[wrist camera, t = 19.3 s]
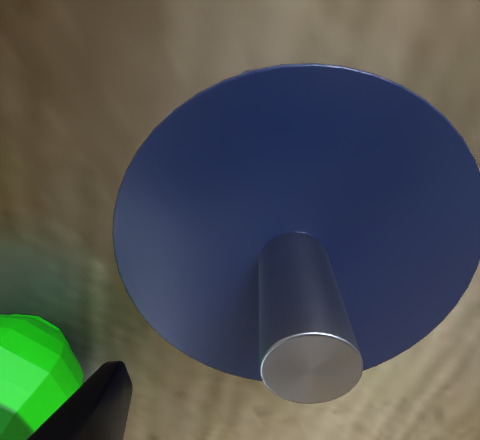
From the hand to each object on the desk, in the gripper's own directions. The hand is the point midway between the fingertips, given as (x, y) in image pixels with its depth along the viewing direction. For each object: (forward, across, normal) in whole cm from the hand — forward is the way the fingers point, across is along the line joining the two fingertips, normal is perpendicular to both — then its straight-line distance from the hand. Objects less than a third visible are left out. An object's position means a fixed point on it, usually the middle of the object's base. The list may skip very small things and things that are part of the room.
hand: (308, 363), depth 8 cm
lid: (+5, 0, 0) cm, 5 cm away
